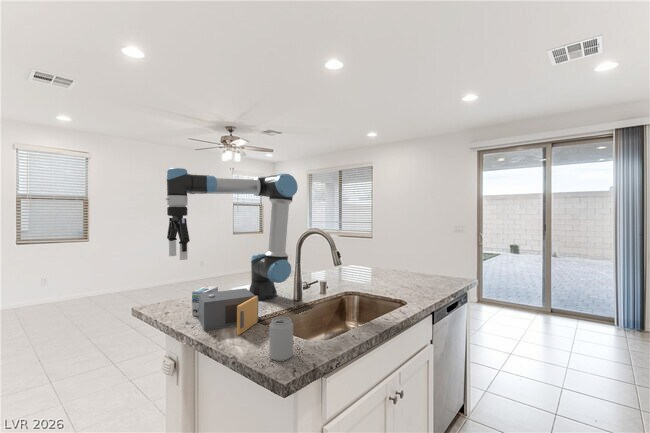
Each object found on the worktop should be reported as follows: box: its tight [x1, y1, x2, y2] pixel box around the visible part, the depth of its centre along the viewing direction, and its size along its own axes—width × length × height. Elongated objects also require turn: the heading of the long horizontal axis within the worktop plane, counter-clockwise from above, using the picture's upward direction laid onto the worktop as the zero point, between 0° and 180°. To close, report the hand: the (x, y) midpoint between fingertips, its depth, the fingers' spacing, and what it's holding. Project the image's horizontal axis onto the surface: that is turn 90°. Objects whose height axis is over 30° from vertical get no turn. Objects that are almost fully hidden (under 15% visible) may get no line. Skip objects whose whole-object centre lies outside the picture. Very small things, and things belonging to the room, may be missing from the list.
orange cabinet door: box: [236, 296, 259, 335], centre depth 123 cm, size 15×2×10 cm, turn 165°
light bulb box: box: [191, 285, 219, 317], centre depth 142 cm, size 11×7×11 cm, turn 168°
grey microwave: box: [198, 288, 255, 332], centre depth 132 cm, size 21×14×12 cm
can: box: [268, 316, 294, 362], centre depth 100 cm, size 8×8×12 cm
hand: (177, 257), depth 130 cm, fingers open, 13 cm apart
